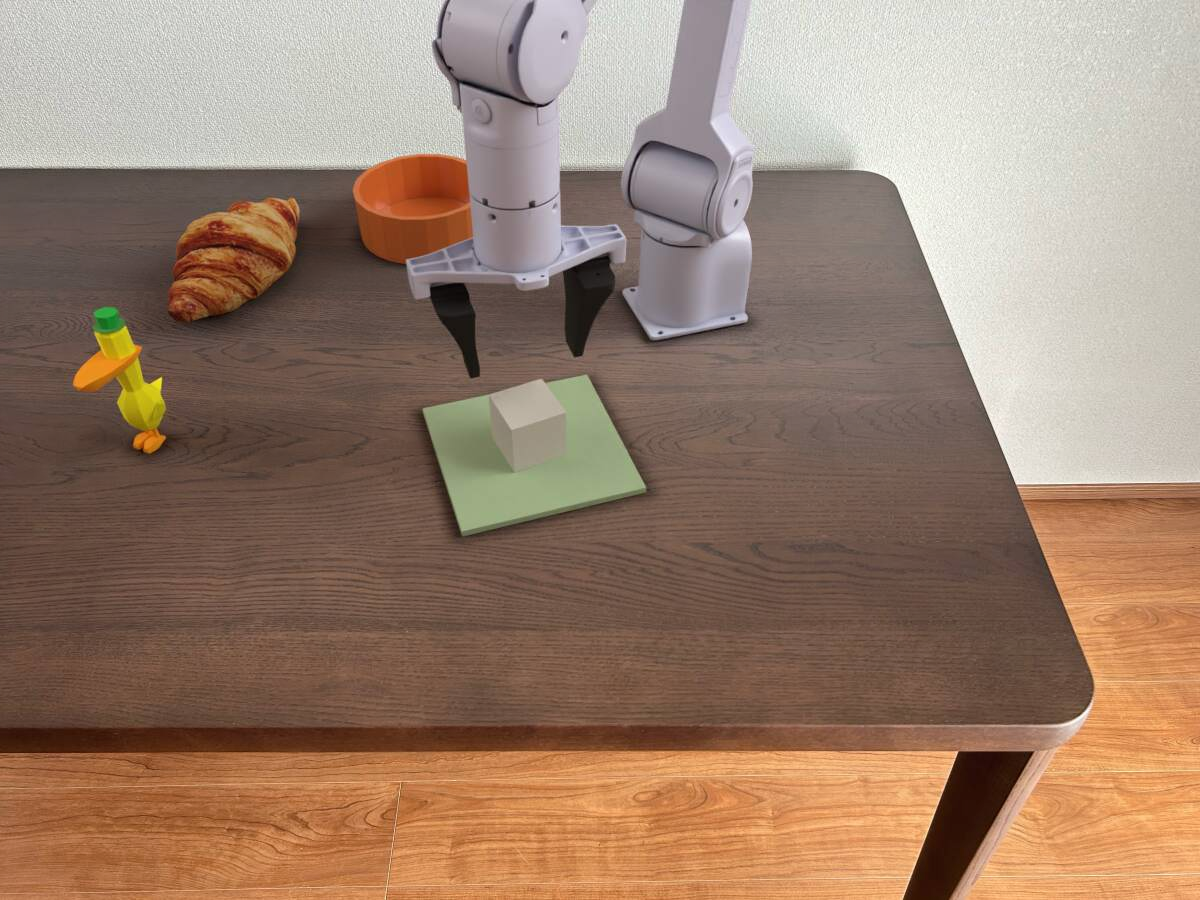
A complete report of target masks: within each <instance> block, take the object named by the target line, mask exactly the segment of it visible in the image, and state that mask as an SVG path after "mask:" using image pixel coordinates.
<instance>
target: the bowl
mask: <svg viewBox="0 0 1200 900" xmlns="http://www.w3.org/2000/svg"><path fill="white" fill-rule="evenodd" d="M352 196H353V202H354V207H355V213H356V218H357V223H358V224H357V225H358V230H359V234H360V236H361V241H362V244H363V245H364V247H365V248H366V249H367V250H368V251H370V252H371V253H372V254H373V255H375V256H377V257H379V258H381V259H383V260H386V261H389V262H394V263H397V264H402V265H403V264H404V265H406V260H407V259H411V258H416V257H420V256H424V255H427V254H430V253H433V252H436V251H438V250H441V249H443V248H446V247H449V246H451V245H454V244H456V243H459V242H462V241H464V240H467V239H469V238H472V237H473V230H472V218H471V207H470V196H469V185H468V174H467V163H466V159H464V158H461V157H458V156H453V155H448V154H441V153H416V154H409V155H402V156H396V157H394V158H390V159H387V160H383V161H381V162H378V163H376V164H375V165H373V166H371V167H369V168H367V169H366V170H364V171H363V172H362V173H361V174H360V175H359V176H358V177H357V178H356V179H355V182H354V185H353V188H352Z"/></svg>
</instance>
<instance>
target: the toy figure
mask: <svg viewBox="0 0 1200 900" xmlns="http://www.w3.org/2000/svg"><path fill="white" fill-rule="evenodd" d="M93 317H94V319H95V322H94V323H93V325H92V329H93V331H94V332H93V334H94V336H95V339H96V341H97V343H98V345H99V347H100V350H99V351H98V352H96V353H95V354H93V355H92V357H90V358H89V359H87V361H86V362H85V363H84V364H83V365H82V366H81V367H80V368H79V370H77V372H76V374H75V375H74V379H73V383H72V386H73V387H74V388H75V389H76V390H77V391H78V392H87V393H89V392H91V393H92V392H96V391H98V390H99V389H101V388H102V387H103V388H104V386H106V385H107V384H108V383H110V382H111V381H113V380H114V379H117V381H118V383H119V384H120V386H121V388H122V390H121V393H120V394H119V397H118V399H117V401H116V404H117V406H118V410H120V413H121V414H122V417H123V419H124V420H125V421H126V422H127V423H128V425H130V426H132V427H133V428H135V429H138V430H140V431H143V432H140V433H138V434H137V435H135V436H134V440H133V444H132V447H133V449H136V450H138V451H139V450H141V449H142V451H143V452H144V453H145V454H148V455H149V454H152V453H153V452H155V451H157V450H158V449H160V447H161V446H162V444H163V443H164V442H165V440H166V439H167V437H166V435H164V434H160V433H159V432H160V431H159V430H158V427H159V425H160V423H161V422H162V419H163V417H164V414H165V413H166V411H167V407H166V403H165V402H166V401H165V399H163V396H162V395H161V392H162V383H163V376H161V377H159V378H158V379H156V380H154V381H152V382H151V383H148V382H146V381H144V376H143V373H142V369H141V363H140V360H139V359H140V358H139V355H140V353H141V352H142V350H143V347H142V346H141V345H137V344H134V342H133V340H132V337H131V334H130V332H129V330H128V327H127V326H126V321H125V319H123V318H121V317H119V310H118V309H117V308H116V307H114V306H112V307H111V306H104V307H102V308H98V309H95V311H94V312H93Z"/></svg>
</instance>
